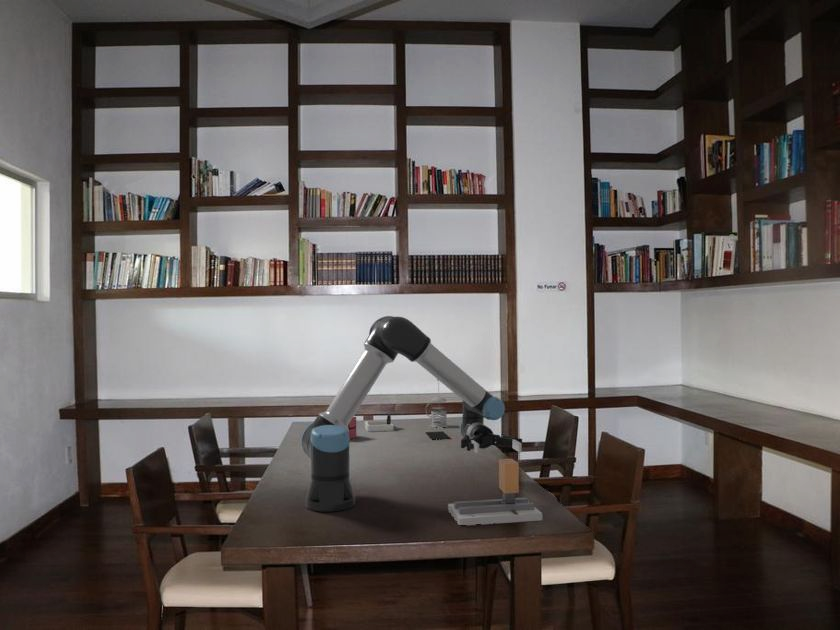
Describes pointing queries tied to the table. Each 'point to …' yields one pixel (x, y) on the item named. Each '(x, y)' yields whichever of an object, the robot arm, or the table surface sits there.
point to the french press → (438, 412)
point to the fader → (508, 480)
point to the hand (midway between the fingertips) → (499, 448)
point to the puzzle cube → (352, 428)
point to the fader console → (493, 512)
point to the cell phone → (437, 435)
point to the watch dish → (378, 426)
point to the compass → (388, 419)
